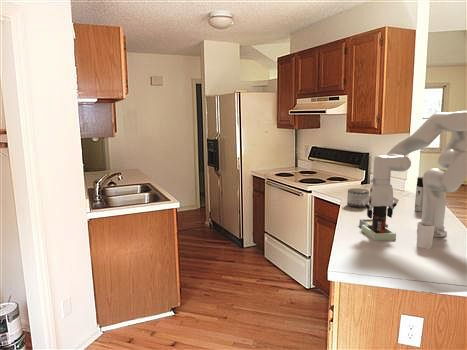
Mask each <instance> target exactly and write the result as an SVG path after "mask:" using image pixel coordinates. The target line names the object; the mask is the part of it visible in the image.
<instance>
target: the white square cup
mask: <svg viewBox="0 0 467 350" xmlns="http://www.w3.org/2000/svg"><path fill="white" fill-rule="evenodd" d="M416 226H417V227H416V228H417V229H416V246H417V247H419V248H422V249H432V247H433V241H434V237H433V235H434V228H435V225H434V224H433V223H429V222H421V221H418V222H417V225H416Z"/></svg>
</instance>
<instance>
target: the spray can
mask: <svg viewBox="0 0 467 350" xmlns="http://www.w3.org/2000/svg"><path fill="white" fill-rule="evenodd" d="M415 190H416V191H415V200H414V201H415V202H414V211H416V212H419V213H422V207H423V196H424V188H423V176H421V177H420V176H419V177H417V180H416V189H415Z"/></svg>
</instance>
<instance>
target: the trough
mask: <svg viewBox="0 0 467 350" xmlns="http://www.w3.org/2000/svg"><path fill="white" fill-rule="evenodd" d="M370 227H371V228H372V226H369V228H370ZM369 228H368V225H362V227H361V232H363V233H364V234H365V235H366V236H368V237H369V238H371V239H373V240H374V241H392V240H393V241H395V240H397V233H396V232H394V230H391V229H389V227H388V228H386V227H385V233H375V232H374V231H372V229H369Z"/></svg>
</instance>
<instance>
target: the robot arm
mask: <svg viewBox="0 0 467 350" xmlns="http://www.w3.org/2000/svg"><path fill="white" fill-rule="evenodd" d="M443 132H449V133H450V132H451V136H450V138H449V140H448V142H447V144H446V145H445V147H444V148H443V150H442V151H441V153H440V154H439V156H438V158H437V164H438V165H439V166H440V167H441V168H437V167H436V168H435V167H434V168H433V167H432V168H430V169H427V170H426V171H425V172H424V173H423V175H422V177H423V188H424V196H423V207H422V212H421V221H420V222H429V223H433V224H434V225H435V228H434V235H433V238H444V237H447V235H448V232H447V231H446V230H445V229H446V227H445V218H446V217H445V216H446V215H445V214H446V206H447V205H446V204H447V195H446V194H447V193H453V192H456V191H457V190H458V189H459V188H460V187H461V186H462V184H463V183H464V181H465V180H466V179H467V110H461V111H459V110H458V111H455V112H454V111H450V112H446V111H443V112H442V111H441V112H435V113H433V114H432V115H430V116H429V117H428V118H427V119H426V120H425V121H424V122H423V124H421V125H420V127H418V129H416V130H415V132H413V134H411V135H409V136H408V137H405V138H404V139H403V140H401V141H400V142H398V143H397V144H396V145H394V146H393V147H392V148H391V149H390V150H389V151H388V152H387V154H385V155H381V154H380V155H375V156H374V158H373V170H372V171H373V172H372V179H370V180H369V181H370V183H372V184H371V185H370V188H369V197H368V198H366V199H364V200H362V202H363V204H364V206H365V207H364V208H366V209H367V211H366V216H367V218H368V219H373V207H374V206H375V207H380V206H387V212H386V217H389V218H391V219H392V217H393V213H394V209H395V207H396V206H397V204H399V199H398V198H396V197H394V191H393V185H392V184H391V173H392V172H399V173H400V172H402V173H403V172H406V171H407V170H409V169H410V168H411V166H412V161H411V159H410V157H408V155H409V154H411V153H413V152H416V151H420V150H423V149H425V148H427V147H429V146H430V145H431V144H432V143H433V142H434V141H435V139H437V138H438V137H439V136H440V135H441V134H442V133H443ZM442 168H444V169H442ZM368 201H369V202H368ZM367 202H368V205H367Z"/></svg>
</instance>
